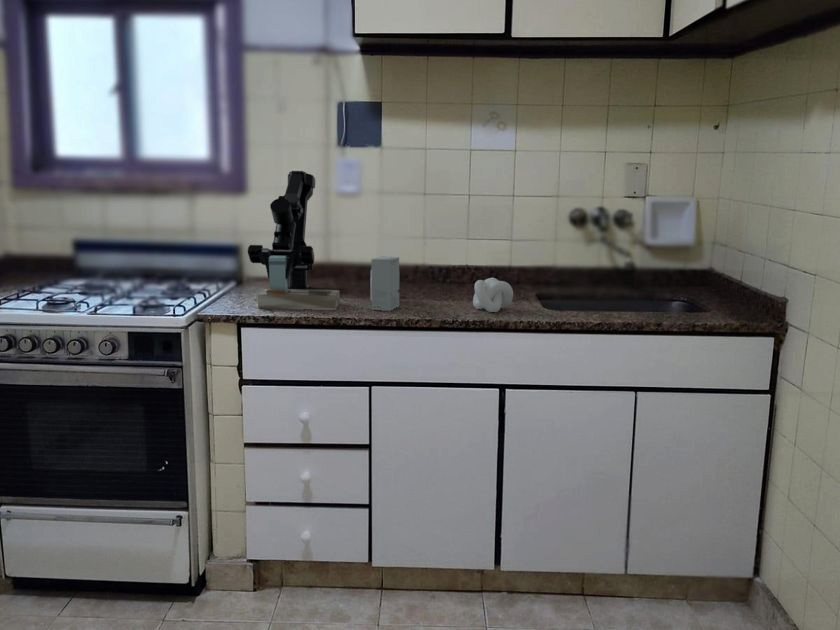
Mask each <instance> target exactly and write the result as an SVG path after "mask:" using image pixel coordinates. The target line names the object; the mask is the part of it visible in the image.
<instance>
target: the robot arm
mask: <svg viewBox="0 0 840 630" xmlns="http://www.w3.org/2000/svg"><path fill="white" fill-rule="evenodd" d="M315 188H316V177H315V176H314V175H313V174H311V173H307V172H306V171H304V170H291V171H289V173H288V174H287V186H286V190H285V192H284V195H278V197H277V198H276V199H274V200H273V201H272V202H271V203H270V207H269V208H270V211H271V216H272V218H273V223H274V224H275V225H276V226H275V231H274V232H273V235H274V236H273V237H274V238H273V241H272V243H271V247H272V249H269V248H268V247H264V246H263V244H250V245H249V246H248V247H247V251H246V252H247V254H248V257H249V260H250V263H252V264H261V265H262V266H265V269H266V273H267V278H268V279H269V262H268V261H269V257H270V256H287V268H286V276H285V277H286V279H287V280H288V283H289V285H287V288H288V289H306V290H308V288H309V287H310V284H307V283H308V280H307V279H308V277H307V276H308V275H307V274H308V271H312V270H314V269H313V268H314V267H313V264H314V263H315V253H314V248H313V247H312V245H308V244H307V243H306V242H305V241H306V240H305V238H306V224H307V213H308V211H307V210H308V202H309V200H311V198H312V196H313V195H314V189H315Z"/></svg>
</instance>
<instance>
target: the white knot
mask: <svg viewBox="0 0 840 630" xmlns="http://www.w3.org/2000/svg"><path fill="white" fill-rule="evenodd" d="M473 289H474V294H473V299H472V305H473V307H474V308H475V309H476V310H478V309H480V310H483V309H484V310H486V311H487V312H489V313H491V312H495V313H498V312H499V311H500V310H501V309H500V308H502V309H505V308H507V307H508V306H509V305H510V304H511V303H512V301H513V297H514V291H513V287H512V286H511V284H510V283H509V282H507V281H504V280H499V279H497V278H495V277H490V278H489V277H488V278H486V279H484V280H483V279H478V280H476V282H475V283H474V287H473Z"/></svg>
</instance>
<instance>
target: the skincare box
mask: <svg viewBox="0 0 840 630" xmlns="http://www.w3.org/2000/svg"><path fill="white" fill-rule="evenodd" d="M370 262H371V265H372V301H371V310H372V311H380V310H381V311H380V312H392V311H393V310H395V309H397V308H399V307H400V257H399V256H378V257H373V258H371V261H370ZM371 265H370V266H371ZM396 307H397V308H396ZM394 308H395V309H394ZM391 310H392V311H391Z"/></svg>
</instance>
